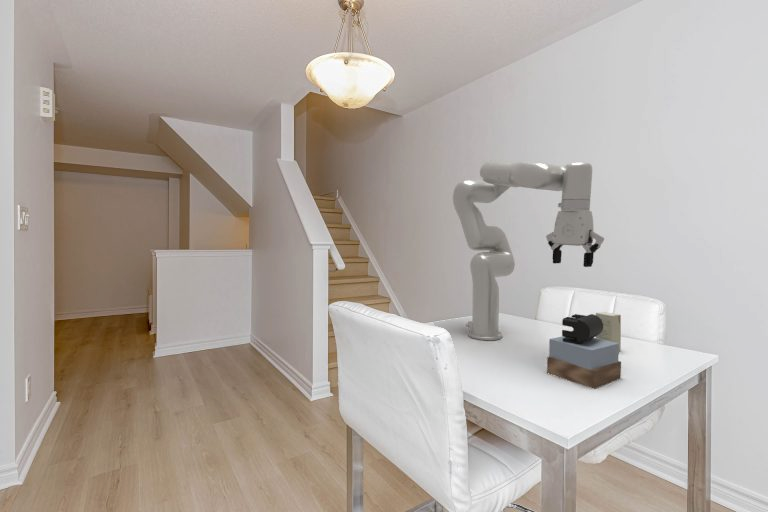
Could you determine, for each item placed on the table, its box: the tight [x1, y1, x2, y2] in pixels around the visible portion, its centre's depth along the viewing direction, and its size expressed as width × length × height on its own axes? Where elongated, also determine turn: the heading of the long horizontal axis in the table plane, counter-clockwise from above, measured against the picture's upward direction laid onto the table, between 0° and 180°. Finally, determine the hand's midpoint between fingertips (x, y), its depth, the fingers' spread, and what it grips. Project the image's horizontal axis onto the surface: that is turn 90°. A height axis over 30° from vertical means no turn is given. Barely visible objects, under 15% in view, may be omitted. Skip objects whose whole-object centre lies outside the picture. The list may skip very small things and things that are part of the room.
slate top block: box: [548, 335, 620, 370], centre depth 104 cm, size 12×12×5 cm
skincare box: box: [595, 311, 622, 352], centre depth 128 cm, size 6×4×12 cm
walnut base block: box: [546, 356, 622, 390], centre depth 104 cm, size 13×13×5 cm
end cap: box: [561, 313, 603, 344], centre depth 104 cm, size 10×7×7 cm
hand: (571, 264), depth 114 cm, fingers open, 9 cm apart
